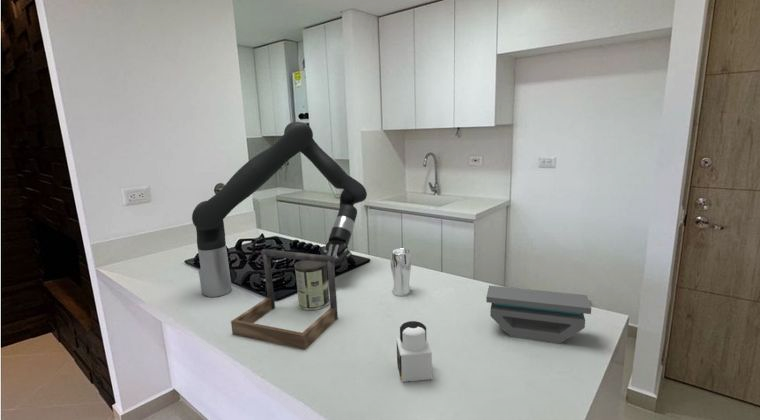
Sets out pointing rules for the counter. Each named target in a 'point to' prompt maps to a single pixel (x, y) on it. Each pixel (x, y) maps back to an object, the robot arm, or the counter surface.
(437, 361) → the counter surface
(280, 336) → the frame
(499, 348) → the counter surface
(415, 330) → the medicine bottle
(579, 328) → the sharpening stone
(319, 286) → the coffee can
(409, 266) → the beer glass
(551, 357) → the counter surface
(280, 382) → the counter surface
